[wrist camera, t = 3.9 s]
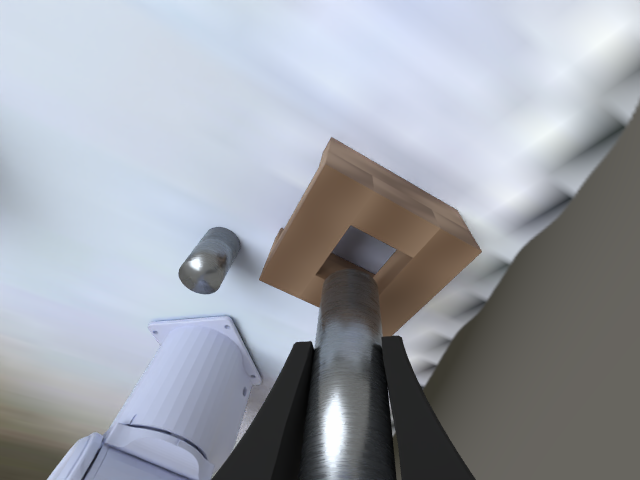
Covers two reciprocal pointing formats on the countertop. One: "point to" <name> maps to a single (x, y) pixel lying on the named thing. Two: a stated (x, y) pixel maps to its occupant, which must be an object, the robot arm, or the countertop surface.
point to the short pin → (210, 261)
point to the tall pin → (348, 387)
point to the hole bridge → (379, 222)
